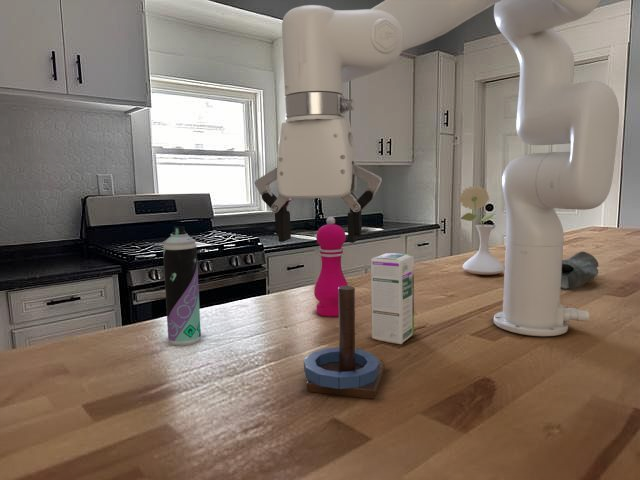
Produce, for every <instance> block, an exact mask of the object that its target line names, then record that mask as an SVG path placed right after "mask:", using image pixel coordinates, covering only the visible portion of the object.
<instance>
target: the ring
mask: <svg viewBox="0 0 640 480" xmlns="http://www.w3.org/2000/svg"><path fill="white" fill-rule="evenodd" d="M330 362H339V347H326V348H323V349H319V350H317V351H313V352H311V353H309V354H308V355H307V356H306V357H305V358H304V359H303V373H304V376H305V379H306V380H307V381H308V380H309V381H311V382H313V383H315V384H317V385H320V386H323V387H329V388H335V389H346V388H358V387H362V386H364V385H367V384H369V383H372V382H374V381H375V380H376V378H377V376H378V375H379V372H380V363H381V362H380V361H379V359H378V358H377V356H376V354H373V353H371V352H369V351H365V350H363V349H360V348H355V363H356V364H359V365H361V366H363V368H360V369H358V370H355V371H347V372H336V371H329V370H325V369H323V368H321V367H319V366H321V365H324V364H327V363H330Z"/></svg>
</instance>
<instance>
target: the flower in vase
mask: <svg viewBox="0 0 640 480" xmlns="http://www.w3.org/2000/svg"><path fill="white" fill-rule="evenodd" d="M458 197H459V198H458V200H459V202H460V203H461V206H462V207H464V208H467V209H469V210H472V211H473V210H474V213H471V212H467V213H465V214H463V215H462V216H461V218H460V220H464V221H469V222H472V221H473V220H474V219H476V218H477V220H478V221H479V223H480V224H475V225H474V226H475V228H476V229H477V231H478V236H479V249H478V251H477V252H476V253H475V254H474V255H472V256H471V257H470V258H469V259H467V260H466V261H464V263H463V264H462V269H463V270H464V271H465V272H467V273H470V274H474V275H479V276H480V275H481V276H491V275H492V276H493V275H498V274H500V273H503V272H505V265H503V263H502V262H501V261H499V259H497V258H496V257H495V256H494V255H493V254H492V253H491V252H490V250H489V239H490V234H491V232H492V230H493V228H494V227H495V225H493V224H483V222H485V221H488V220H490V219H492V218H493V217H494V216H495V212H493V213H490V214H488V215H486V216H483V218H481V219H480V218H479V216H478V214H477V209H481V208H483V207H486V204H488V201H490V196H489V194H488V191H487V188H482V186H477V185H473V186H471V185H470V186H468V188H467V187H466V188H465V189H463V190H462V192H461V193H460V195H459V196H458Z"/></svg>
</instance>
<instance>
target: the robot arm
mask: <svg viewBox="0 0 640 480" xmlns="http://www.w3.org/2000/svg"><path fill="white" fill-rule="evenodd" d="M600 2H601V0H383V1H381V2H380V3H379V4H377V5H375V6H373V7H372V8H365V9H342V10H341V9H340V10H339V9H333V8H331V7H328V6H325V5H319V4H307V5H306V4H305V5H300V6H296V7H293V8H291V9H290V10H288V11H287V12H286V13H285V14H284V16H283V18H282V24H281V36H282V37H281V38H282V39H281V40H282V57H283V58H282V59H283V60H282V61H283V84H284V107H285V110H284V111H285V122H281V123H280V129H279V137H278V145H277V159H276V160H277V161H276V167H275V168H274V169H272V170H270V171H269V172H267V173H266V174H264V175H262V176H260V177H259V178H257V179H256V180H255V181H254V186H255V188H256V189H257V191H258V193H259V195H260V196H261V200H262V202H264V203H265V204H266V205H267V206H268V207H269V208H270V210H271V211H272V213H274V227H275V229H274V230H275V235H276V236H277V237H278V243H285V242H286V241H289V240H290V239H291V238H292V229H291V227H292V226H291V212H290V211H289V210H288V206H290V204H291V202H293V200H294V199H336V198H341V199H342V200H343V202H344V203H345V204H346V205H347V206H348V207H349V212H348V213H347V241H348V243H350V244H352V243H353V244H355V243H356V242H357V241H358V240H359V237H361V236H362V234H363V233H362V232H363V231H362V230H363V227H362V226H363V224H362V223H363V221H362V211H363V210H364V209H365V208H366V206H367V205H368V204H369V203H370V202H371V201H372V200H373V199H374V198H375V196H376V194H377V192H378V189H379V187H380V186H381V184H382V181H383V179H382V177H381V176H380V175H378V174H376V173H373V172H372V171H370V170H368V169H366V168H364V167H362V166H360V165H357V164H356V153H355V152H356V151H355V145H354V136H353V132H352V127H351V122H350V120H347V119H344V117H345V114H346V112H349V111H354V110H355V101H354V99H353V98H352V99H348V98H345V96H344V95H343V83H349V82H351V81H353V80H356V79H360V78H363V77H364V76H365V77H366V76H369V75H372V74H374V73H377V72H380V71H382V70H384V69H387V68H388V67H390V66H391V65H393V64H394V63H395V62H396V61H398V59H399V57H400V56H401V54H402V52H404V51H406V50H409V49H412V48H415V47H418V46H421V45H423V44H425V43H428V42H430V41H433V40H435V39H437V38H439V37H441V36H443V35H445V34H447V33H450V31H452V30H453V29H455V28H457V27H459V26H460V25H462V24H463V23H465V22H467V21H468V20H470V19H471V18H473V17H475V16H477V15H479V14H481V13H482V12H483V11H485V10H487V9H489V8H491V7H492V6H493V19H494V22H495V24H496V25H495V26H496V27H497V29H498V31H499V32H500V33H501V34H502V36H503V37H504V38H505V39H506V40H507V42H508V43H509V45H510V46H511V47H512V49H513V51H514V53H515V55H516V56H517V60H518V63H519V83H518V84H519V85H518V97H517V108H516V122H515V123H516V124H515V125H516V126H515V127H516V128H515V129H516V134H517V137H518V139H519V140H520V141H521V142H522V143H524V144H526V145H530V146H551V145H568V144H569V145H570V151H552V152H551V151H550V152H549V151H548V152H534V153H526V154H523V155H520V156H518V157H515V158H513V159H512V160H511V161H510V162H509V163H508V164H507V165H506V166H505V168H504V169H503V172H502V177H501V187H502V194H503V200H504V206H505V248H504V249H505V252H504V268H505V269H504V271H503V272H504V273H503V275H504V276H503V278H504V279H503V297H502V298H503V299H502V311H498V312H496V313H495V314H494V315H493V323H494V325H495V326H497V327H498V328H500V329H502V330H503V331H507V332H510V333H514V334H518V335H524V336H532V337H554V336H555V337H557V336H561V335H564V334H565V333H567V332H568V330H569V322H570V321H577V322H589V321H590V311H589V310H583V309H578V308H577V307H565V306H564V305H563V304H562V303H561V289H562V288H561V273H562V260H563V254H564V253H563V252H564V240H565V236H564V235H565V233H564V228H563V225H562V222H561V219H560V217H559V215H558V214H557V212H556V210H555V209H558V210H559V209H560V210H561V209H562V210H581V211H582V210H585V211H586V210H593V209H595V208H598V207H600V206H601V205H602V204H603V203H604V202H605V201H606V199H607V198H608V196H609V195H610V194H609V193H610V191H611V188H612V184H613V180H614V179H613V178H614V170H615V161H616V160H615V159H616V152H617V142H618V135H619V134H618V133H619V125H620V123H619V122H620V106H619V101H618V98H617V96H616V92H615V91H614V90H613V88H611V86H609V85H608V83H607V84H606V83H605V82H602V81H598V80H597V81H596V80H594V81H593V80H592V81H591V80H590V81H582V82H578V83H577V82H576V83H574V77H575V76H574V75H575V56H574V54H573V53H574V52H573V50H572V48H571V47H570V45H569V44H568V42H567V41H566V40H565V39H564V38H563V37H562V36H561V35H560V33H558V31H556V29H555V28H556V27H559V26H563V25H566V24H569V23H571V22H576V21H578V20H581V19H582V18H583V19H584V18H585V17H587V16H588V15H590V14H591V13H592V12H593V11H594V10H595V9H596V8H597V7H598V5H599V4H600ZM357 178H358V179H361V180H363V181H365V182H366V183H367V187H366V189H365V191H364V192H363V193H362V195H360V197H359V196H358V195H357V194H356V193H355V192H356V191H357V184H358V182H357ZM274 182H276V185H277V186H276V187H277V191H278V194H279V195H278V196H276V195H275V194H274V193H273V192H272V191H271V187H270V185H271V184H273V183H274Z"/></svg>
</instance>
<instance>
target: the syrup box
mask: <svg viewBox="0 0 640 480" xmlns="http://www.w3.org/2000/svg"><path fill="white" fill-rule="evenodd" d="M370 303H371V304H370V306H371V308H370V309H371V310H370V311H371V338H372V339H373V340H376V341H381V342H386V343H390V344H398V345H403V344H404V343H405V342H406V341H407V340H408V339H409V338H411V337H412V336H414V334H415V256H414V255H413V254H409V253H408V254H407V253H397V252H394V253H391V252H389V253H386V252H385V253H383V254H381V255H378V256H375V257H371V258H370Z"/></svg>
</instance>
